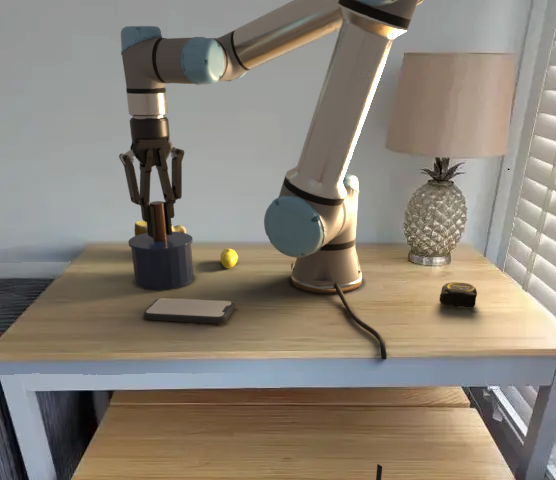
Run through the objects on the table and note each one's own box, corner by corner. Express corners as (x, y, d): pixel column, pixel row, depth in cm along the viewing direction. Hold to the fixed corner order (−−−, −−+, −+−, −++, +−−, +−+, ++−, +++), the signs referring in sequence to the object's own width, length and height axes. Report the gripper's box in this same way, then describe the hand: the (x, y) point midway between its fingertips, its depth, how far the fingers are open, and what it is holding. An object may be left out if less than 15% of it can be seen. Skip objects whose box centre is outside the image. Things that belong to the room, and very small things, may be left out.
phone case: (142, 321, 116) (224, 326, 113) (141, 313, 115) (223, 317, 112) (159, 304, 123) (236, 308, 120) (158, 296, 123) (235, 300, 120)
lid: (203, 247, 130) (201, 204, 126) (143, 258, 123) (138, 213, 119) (176, 233, 140) (173, 193, 136) (119, 242, 133) (114, 200, 129)
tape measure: (437, 308, 120) (439, 290, 118) (442, 296, 125) (444, 279, 124) (473, 313, 118) (476, 295, 116) (476, 300, 123) (479, 283, 122)
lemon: (218, 270, 141) (217, 254, 139) (222, 259, 148) (221, 244, 146) (236, 270, 141) (236, 254, 139) (239, 260, 148) (239, 244, 146)
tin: (203, 282, 134) (200, 244, 130) (149, 294, 128) (144, 254, 124) (178, 267, 143) (175, 231, 139) (127, 277, 137) (122, 240, 133)
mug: (126, 256, 144) (133, 213, 143) (134, 256, 154) (140, 217, 153) (178, 265, 145) (185, 223, 144) (182, 265, 155) (189, 226, 154)
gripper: (177, 112, 126) (186, 225, 137) (102, 117, 119) (117, 236, 130) (194, 115, 121) (201, 233, 132) (115, 120, 113) (130, 245, 124)
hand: (160, 234), depth 131 cm, fingers closed on lid, 3 cm apart
